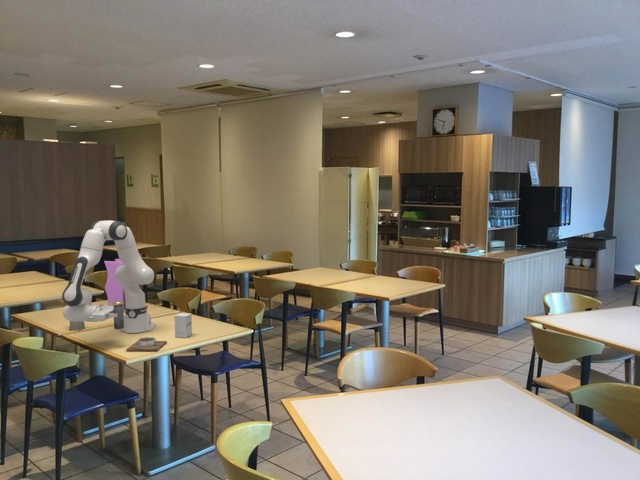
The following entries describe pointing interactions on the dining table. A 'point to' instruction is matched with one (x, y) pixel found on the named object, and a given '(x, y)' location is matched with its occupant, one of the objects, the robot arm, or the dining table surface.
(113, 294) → the container
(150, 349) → the mount plate
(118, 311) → the dark grey canister
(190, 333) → the supplement box
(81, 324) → the thermos bottle
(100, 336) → the dining table surface
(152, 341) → the steel collar
